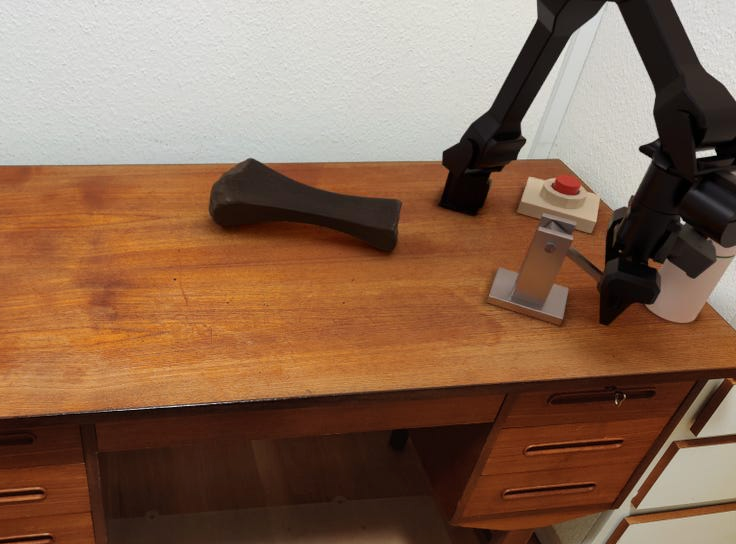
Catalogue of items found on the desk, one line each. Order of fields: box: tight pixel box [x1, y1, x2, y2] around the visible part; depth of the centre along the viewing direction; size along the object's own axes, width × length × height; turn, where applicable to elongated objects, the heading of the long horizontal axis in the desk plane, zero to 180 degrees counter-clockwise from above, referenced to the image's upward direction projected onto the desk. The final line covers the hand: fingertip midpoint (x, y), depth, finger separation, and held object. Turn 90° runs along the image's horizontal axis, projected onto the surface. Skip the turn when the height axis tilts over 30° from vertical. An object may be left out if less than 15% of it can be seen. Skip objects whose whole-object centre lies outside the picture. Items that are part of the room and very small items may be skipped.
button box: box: [516, 176, 601, 234], centre depth 120 cm, size 12×10×4 cm
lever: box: [545, 221, 603, 294], centre depth 95 cm, size 13×3×3 cm, turn 66°
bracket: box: [486, 213, 577, 326], centre depth 97 cm, size 10×8×12 cm
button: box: [552, 174, 582, 196], centre depth 119 cm, size 4×4×2 cm
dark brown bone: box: [208, 157, 403, 251], centre depth 107 cm, size 11×10×28 cm
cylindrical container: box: [644, 172, 736, 324], centre depth 95 cm, size 7×7×25 cm
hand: (605, 305), depth 97 cm, fingers open, 9 cm apart
